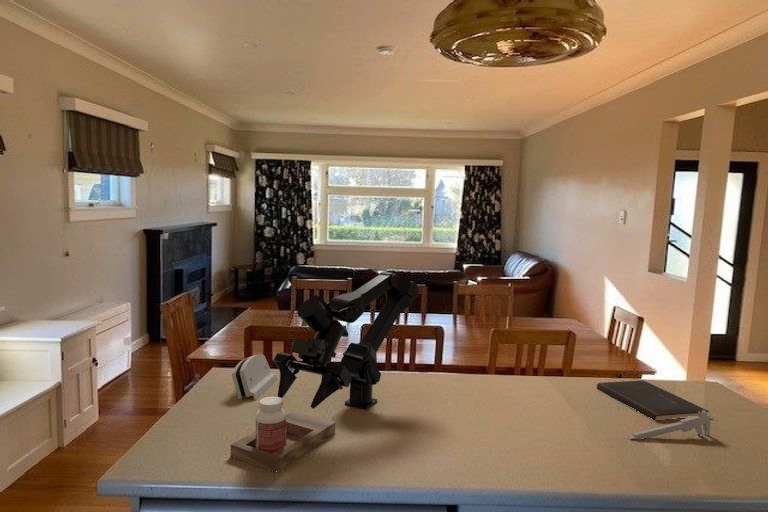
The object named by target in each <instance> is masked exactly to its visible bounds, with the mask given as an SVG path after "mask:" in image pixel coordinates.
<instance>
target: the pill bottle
mask: <svg viewBox="0 0 768 512" xmlns="http://www.w3.org/2000/svg"><path fill="white" fill-rule="evenodd" d="M283 407H284V401H283V398H280V397H277V396H267V397H266V396H265V397H263V398H261V399H260V400H259V404H258V408H259V410H258V411H257V412H256V414H255V431H256V449H259V450H262V451H265V452H268V453H271V454H272V453H273V452H275V451H277V450H278V449H280V448H281V447H283V446H285V445H287V433H286V415H287V412H286V410H285V409H284V408H283Z"/></svg>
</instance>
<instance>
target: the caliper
mask: <svg viewBox="0 0 768 512" xmlns="http://www.w3.org/2000/svg"><path fill="white" fill-rule="evenodd" d="M707 413H708V412H707ZM707 413H706V411H704V410H702V413H701V412H699V411H698V415H699V416H694V417H690V418H686V419H679V421H677V422H673V423H669V424H666V425H662V426H661V425H660V426H657V427H653V428H649V429H644V430H641V431H637V432H633V433H632V435H629V436H628V437H627V439H628V438H629V439H628V440H630V439H634V440H635V439H642V438H646V439H650V438H653V437H657V436H662V435H666V434H670V433H675V432H677V431H678V432H679V431H682V432H683V433H686V432H688V431H689V432H691V431H692V430H695V433H696V434H697V433H698V434H699V435H702V436H703V433H705V434H707V435H709V436H710V433H711V419H710V415H708V414H707ZM702 428H703V429H702ZM705 434H704V435H705ZM699 435H698V436H699ZM707 435H706V436H707Z"/></svg>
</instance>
